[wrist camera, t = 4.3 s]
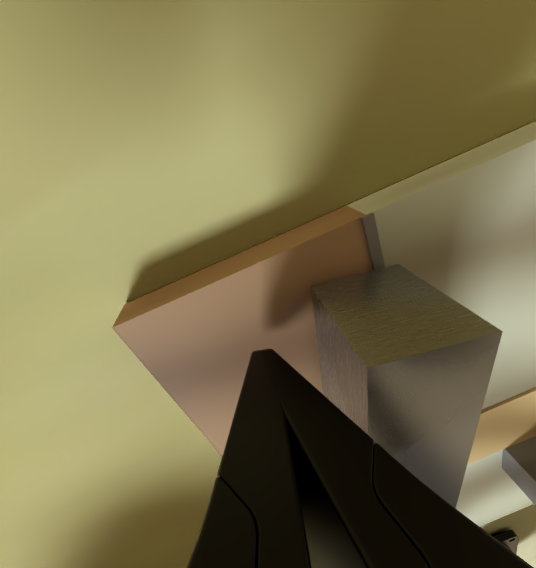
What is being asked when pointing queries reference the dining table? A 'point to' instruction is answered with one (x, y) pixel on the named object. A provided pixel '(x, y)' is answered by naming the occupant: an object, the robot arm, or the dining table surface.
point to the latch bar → (406, 368)
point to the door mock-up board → (358, 259)
